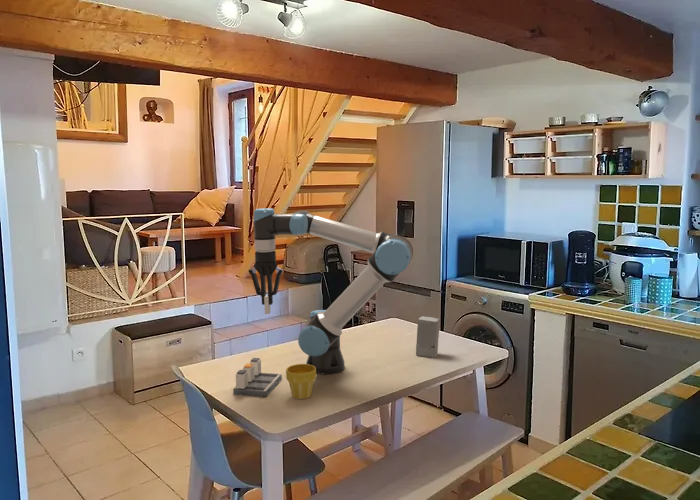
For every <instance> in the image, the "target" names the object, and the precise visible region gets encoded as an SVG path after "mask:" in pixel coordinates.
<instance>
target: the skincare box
mask: <svg viewBox="0 0 700 500" xmlns="http://www.w3.org/2000/svg"><path fill="white" fill-rule="evenodd" d="M440 321H441V319H440V318H437V317H432V316H423V315H422V316H420V317H419V318H417V330H416V342H415V343H416V346H415V356H417V357H426V358H433V359H435V358H436V356H437V355H438V353H439V351H438V350H439V336H440V333H439V332H440Z"/></svg>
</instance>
